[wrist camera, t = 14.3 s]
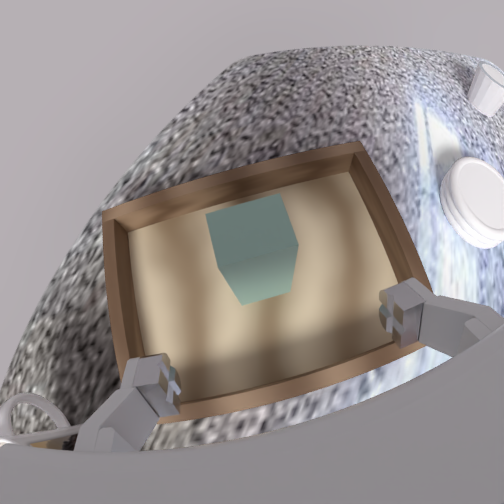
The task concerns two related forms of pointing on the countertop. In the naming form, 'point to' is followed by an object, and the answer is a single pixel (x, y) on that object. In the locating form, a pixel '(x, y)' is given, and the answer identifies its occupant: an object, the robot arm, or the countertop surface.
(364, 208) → the wooden serving tray
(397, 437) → the robot arm
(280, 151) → the countertop surface
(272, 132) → the countertop surface
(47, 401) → the mug
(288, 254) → the grey-green rectangular block
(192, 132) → the countertop surface
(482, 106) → the white cylinder
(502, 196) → the white round disc stack
